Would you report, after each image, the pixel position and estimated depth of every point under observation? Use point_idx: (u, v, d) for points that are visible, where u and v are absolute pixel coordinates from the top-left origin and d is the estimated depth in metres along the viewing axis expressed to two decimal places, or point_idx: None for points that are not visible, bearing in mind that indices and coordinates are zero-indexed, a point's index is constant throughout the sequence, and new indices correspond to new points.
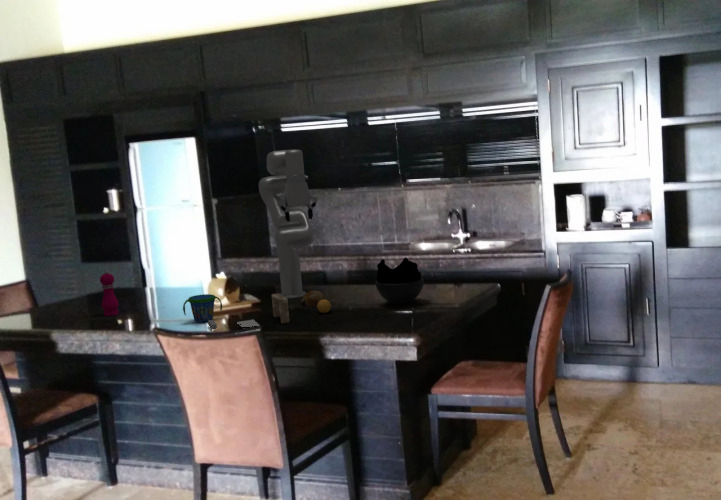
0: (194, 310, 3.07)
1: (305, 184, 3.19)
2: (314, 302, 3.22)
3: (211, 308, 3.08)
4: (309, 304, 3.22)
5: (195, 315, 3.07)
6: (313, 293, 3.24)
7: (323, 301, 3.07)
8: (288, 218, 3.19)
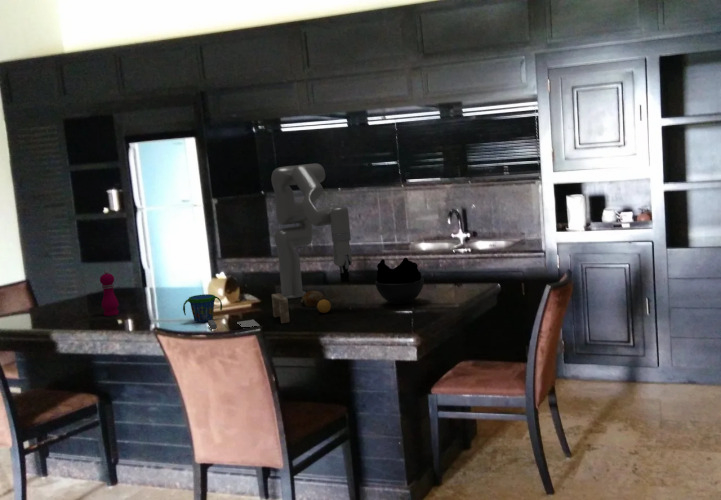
0: (194, 310, 3.07)
1: None
2: (313, 302, 3.22)
3: (211, 308, 3.08)
4: (308, 304, 3.22)
5: (195, 315, 3.07)
6: (312, 293, 3.24)
7: (323, 301, 3.07)
8: None
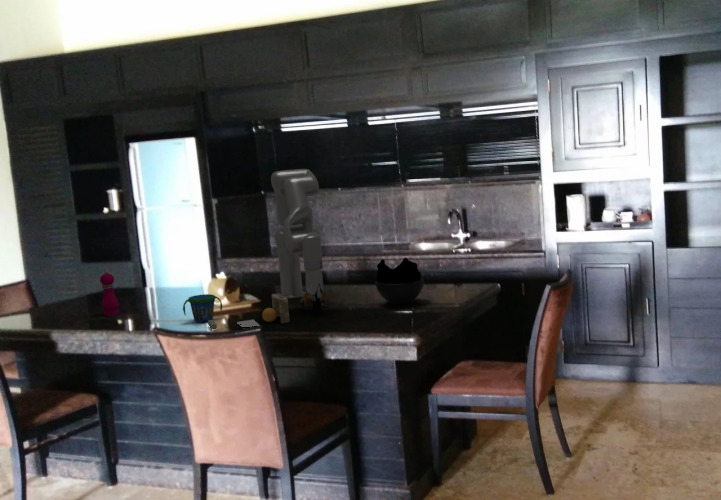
0: (194, 310, 3.07)
1: None
2: None
3: (211, 308, 3.08)
4: (308, 304, 3.22)
5: (195, 315, 3.07)
6: None
7: (265, 318, 2.98)
8: None
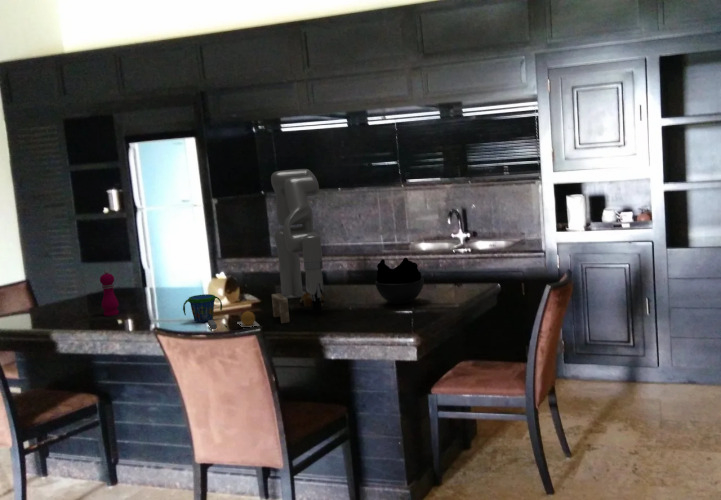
0: (194, 310, 3.07)
1: None
2: None
3: (211, 308, 3.08)
4: (307, 304, 3.22)
5: (195, 315, 3.07)
6: None
7: (253, 315, 2.96)
8: None
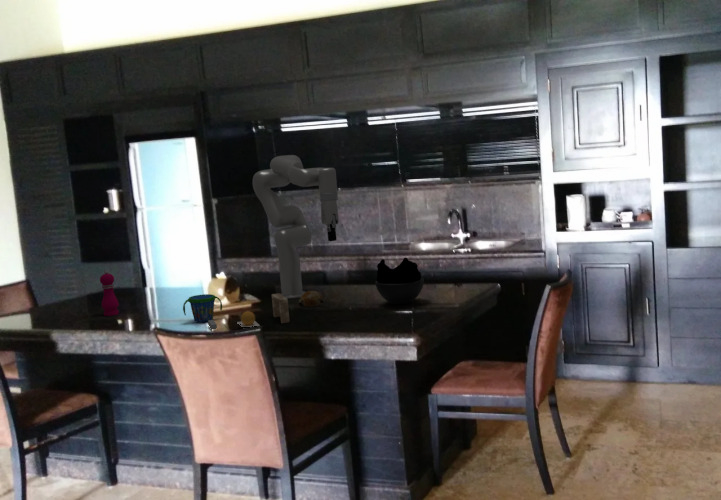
0: (194, 310, 3.07)
1: None
2: (311, 302, 3.22)
3: (211, 308, 3.08)
4: (307, 304, 3.22)
5: (195, 315, 3.07)
6: (311, 293, 3.24)
7: (253, 315, 2.96)
8: None
